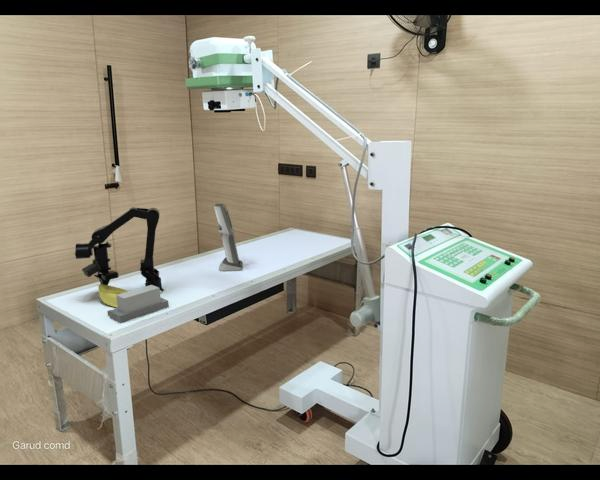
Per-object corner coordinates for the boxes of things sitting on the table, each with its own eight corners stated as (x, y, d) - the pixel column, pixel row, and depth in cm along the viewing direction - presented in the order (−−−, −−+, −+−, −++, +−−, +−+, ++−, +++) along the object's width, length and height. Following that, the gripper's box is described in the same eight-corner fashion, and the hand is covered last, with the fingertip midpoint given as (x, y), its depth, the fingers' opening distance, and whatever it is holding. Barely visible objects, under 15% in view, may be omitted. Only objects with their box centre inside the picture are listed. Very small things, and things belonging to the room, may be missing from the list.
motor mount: (154, 300, 213) (151, 280, 211) (168, 307, 205) (166, 286, 203) (106, 315, 198) (103, 294, 196) (120, 323, 190) (117, 301, 188)
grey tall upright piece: (219, 265, 264) (215, 202, 256) (243, 264, 265) (239, 202, 257) (218, 271, 253) (213, 206, 245) (242, 270, 254) (238, 205, 246)
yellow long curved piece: (144, 295, 213) (127, 292, 204) (139, 311, 212) (122, 309, 203) (113, 286, 222) (96, 283, 213) (108, 301, 221) (91, 299, 212)
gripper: (74, 256, 217) (78, 289, 220) (92, 265, 204) (96, 299, 208) (98, 252, 224) (102, 283, 228) (117, 259, 212) (120, 292, 216)
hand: (104, 289), depth 220 cm, fingers closed
